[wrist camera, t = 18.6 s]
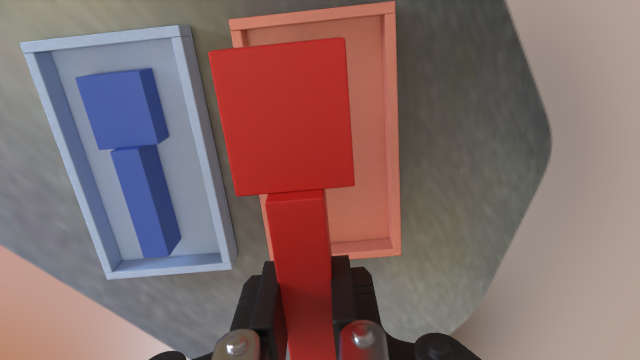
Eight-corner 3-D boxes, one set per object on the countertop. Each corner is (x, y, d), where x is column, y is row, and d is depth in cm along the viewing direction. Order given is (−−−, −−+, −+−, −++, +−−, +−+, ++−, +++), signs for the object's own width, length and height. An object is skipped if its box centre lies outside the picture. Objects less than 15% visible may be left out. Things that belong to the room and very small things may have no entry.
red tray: (235, 20, 23) (228, 19, 21) (389, 3, 22) (395, 0, 20) (274, 251, 29) (271, 266, 27) (396, 240, 28) (401, 255, 26)
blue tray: (42, 41, 23) (18, 42, 21) (190, 25, 23) (178, 24, 21) (120, 264, 29) (106, 280, 27) (238, 254, 29) (232, 269, 27)
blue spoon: (195, 237, 28) (184, 255, 25) (144, 241, 28) (129, 260, 26) (152, 67, 23) (133, 71, 21) (92, 74, 23) (67, 78, 21)
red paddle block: (362, 333, 16) (369, 381, 14) (275, 339, 16) (268, 388, 14) (341, 36, 12) (346, 37, 10) (223, 48, 12) (200, 52, 10)
